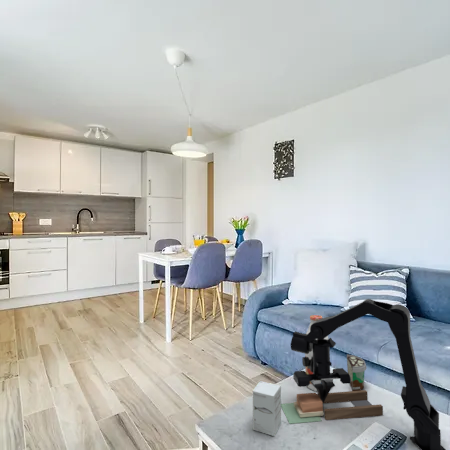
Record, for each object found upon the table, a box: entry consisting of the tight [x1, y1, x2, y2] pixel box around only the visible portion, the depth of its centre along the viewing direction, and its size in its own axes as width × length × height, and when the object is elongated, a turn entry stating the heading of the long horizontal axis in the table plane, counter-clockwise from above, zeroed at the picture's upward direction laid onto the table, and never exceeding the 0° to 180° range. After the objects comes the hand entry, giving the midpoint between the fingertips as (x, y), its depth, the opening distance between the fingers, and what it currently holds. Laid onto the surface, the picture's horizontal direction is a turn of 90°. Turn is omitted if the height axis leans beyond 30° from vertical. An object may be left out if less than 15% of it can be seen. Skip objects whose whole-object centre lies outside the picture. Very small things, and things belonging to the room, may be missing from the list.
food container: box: [346, 354, 367, 391], centre depth 122 cm, size 12×6×10 cm, turn 168°
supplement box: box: [252, 380, 282, 437], centre depth 98 cm, size 7×7×13 cm
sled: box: [293, 392, 325, 418], centre depth 105 cm, size 7×8×4 cm
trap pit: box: [350, 400, 373, 407], centre depth 107 cm, size 7×6×1 cm
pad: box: [281, 402, 323, 425], centre depth 105 cm, size 11×11×1 cm
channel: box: [316, 389, 384, 421], centre depth 107 cm, size 10×20×3 cm, turn 96°
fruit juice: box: [304, 314, 329, 392], centre depth 122 cm, size 9×9×28 cm
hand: (322, 401), depth 106 cm, fingers closed
